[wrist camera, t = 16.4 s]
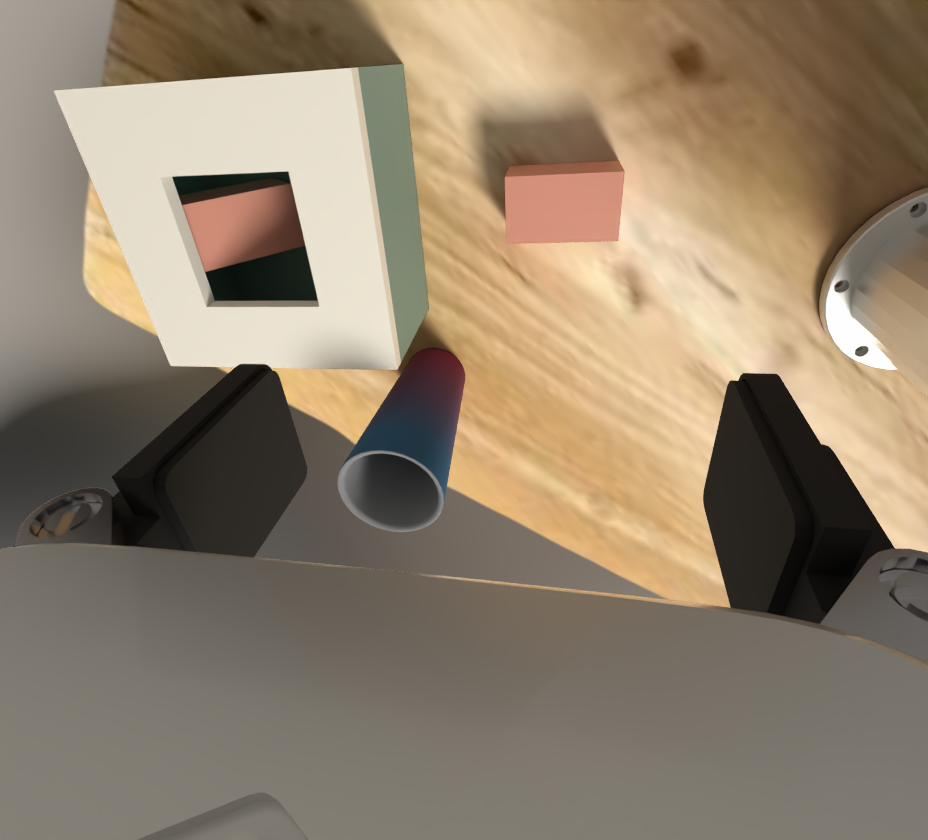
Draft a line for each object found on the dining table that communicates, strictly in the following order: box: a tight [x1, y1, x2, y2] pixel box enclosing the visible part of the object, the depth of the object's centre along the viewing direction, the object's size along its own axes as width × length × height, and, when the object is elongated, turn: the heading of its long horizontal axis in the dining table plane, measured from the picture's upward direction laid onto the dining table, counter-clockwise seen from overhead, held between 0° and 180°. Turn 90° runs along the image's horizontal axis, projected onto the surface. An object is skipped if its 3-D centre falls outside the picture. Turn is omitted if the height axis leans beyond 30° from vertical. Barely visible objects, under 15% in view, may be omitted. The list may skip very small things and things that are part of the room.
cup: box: [337, 348, 465, 532], centre depth 39 cm, size 7×7×15 cm
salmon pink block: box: [179, 178, 305, 272], centre depth 35 cm, size 4×4×7 cm
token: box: [505, 161, 625, 244], centre depth 34 cm, size 7×4×4 cm, turn 94°
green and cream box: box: [54, 64, 429, 370], centre depth 34 cm, size 16×16×10 cm
